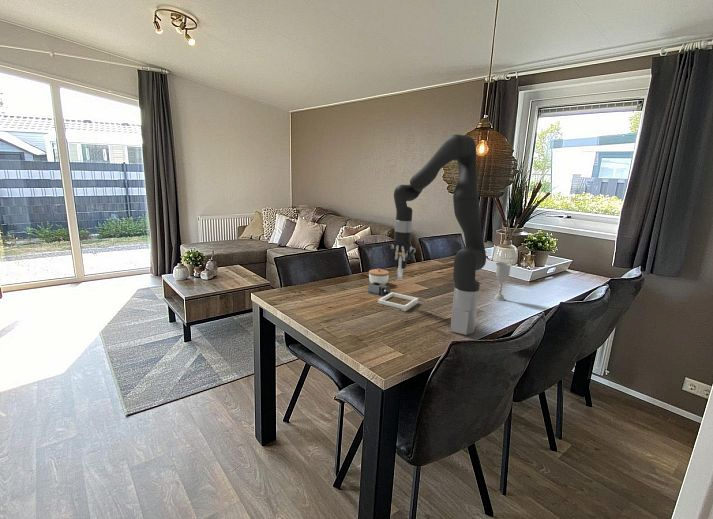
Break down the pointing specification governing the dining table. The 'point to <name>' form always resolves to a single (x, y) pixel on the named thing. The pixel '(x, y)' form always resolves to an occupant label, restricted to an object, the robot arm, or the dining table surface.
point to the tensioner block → (378, 289)
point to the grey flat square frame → (402, 307)
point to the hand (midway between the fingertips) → (400, 267)
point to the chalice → (502, 277)
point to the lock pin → (400, 266)
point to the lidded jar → (378, 275)
